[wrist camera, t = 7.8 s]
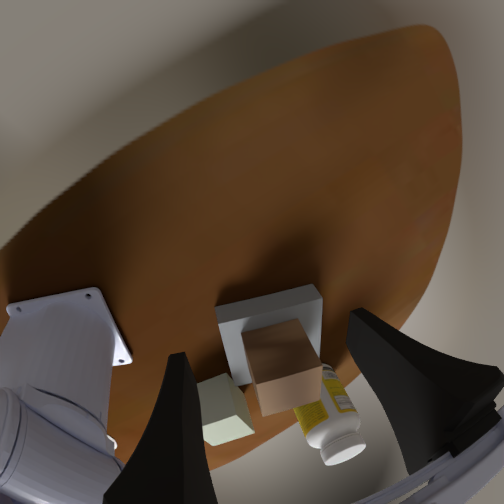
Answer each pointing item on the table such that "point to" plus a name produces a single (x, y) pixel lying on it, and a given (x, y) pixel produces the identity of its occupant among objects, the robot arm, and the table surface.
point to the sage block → (223, 410)
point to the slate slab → (267, 322)
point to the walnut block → (282, 366)
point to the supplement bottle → (331, 421)
